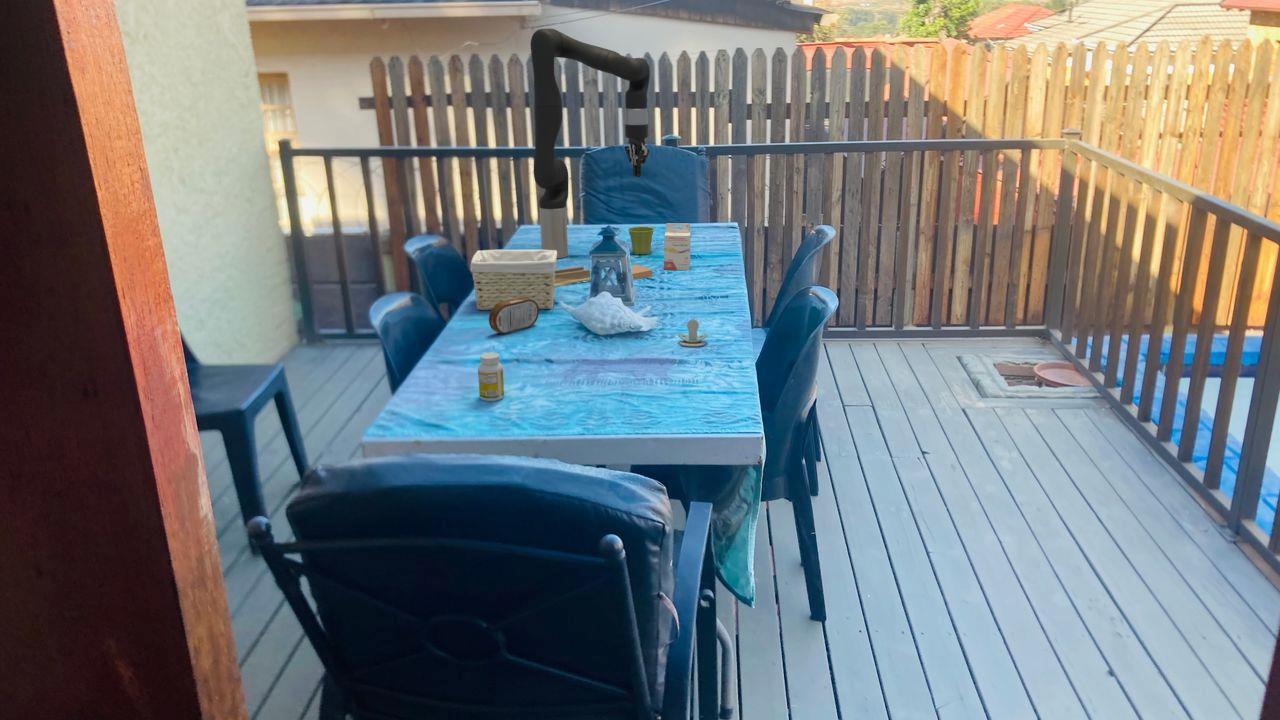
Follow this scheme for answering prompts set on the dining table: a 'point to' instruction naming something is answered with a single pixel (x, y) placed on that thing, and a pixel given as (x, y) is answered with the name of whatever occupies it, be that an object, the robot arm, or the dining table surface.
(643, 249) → the plant pot
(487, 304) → the storage basket
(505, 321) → the tin
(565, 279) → the holder
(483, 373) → the supplement bottle
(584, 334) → the dining table surface
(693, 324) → the pacifier
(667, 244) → the ink cartridge box
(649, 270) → the cover plate
